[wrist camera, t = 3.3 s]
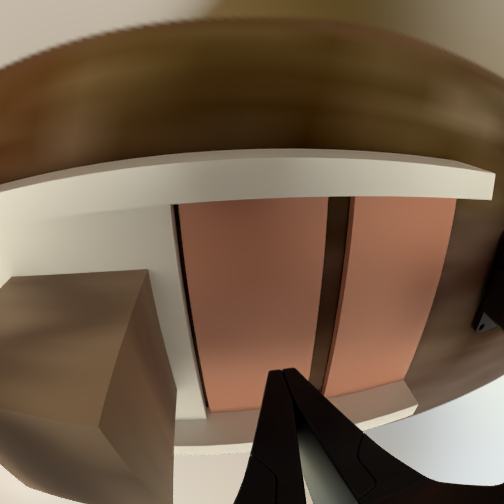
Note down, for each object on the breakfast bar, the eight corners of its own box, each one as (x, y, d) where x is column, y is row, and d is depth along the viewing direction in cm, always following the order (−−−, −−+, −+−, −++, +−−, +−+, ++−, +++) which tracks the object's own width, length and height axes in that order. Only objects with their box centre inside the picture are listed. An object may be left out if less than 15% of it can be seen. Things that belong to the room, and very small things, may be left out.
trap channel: (455, 160, 10) (495, 173, 8) (395, 386, 15) (412, 414, 13) (-107, 222, 7) (-130, 238, 5) (-34, 387, 12) (-46, 409, 10)
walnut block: (147, 269, 9) (98, 426, 4) (177, 389, 12) (173, 515, 7) (11, 276, 9) (-73, 380, 3) (61, 384, 11) (27, 486, 6)
